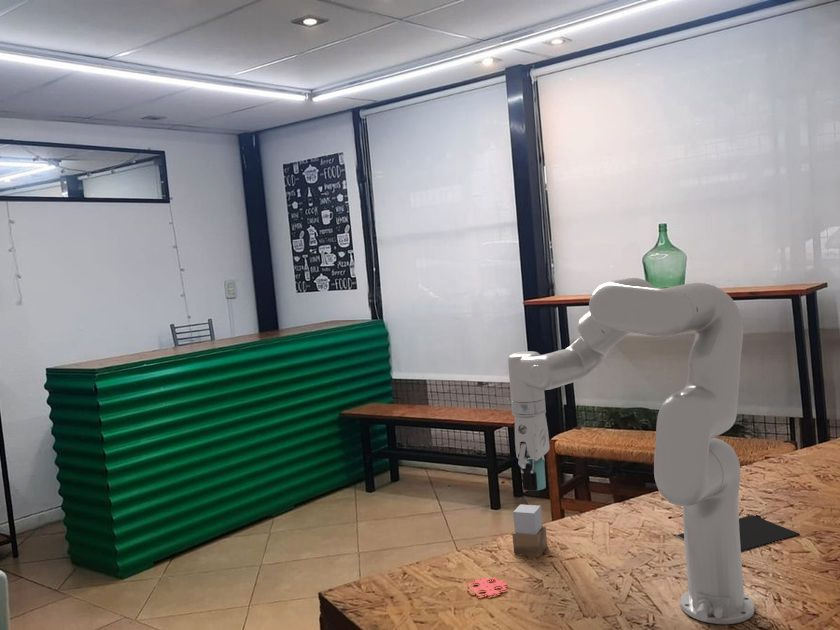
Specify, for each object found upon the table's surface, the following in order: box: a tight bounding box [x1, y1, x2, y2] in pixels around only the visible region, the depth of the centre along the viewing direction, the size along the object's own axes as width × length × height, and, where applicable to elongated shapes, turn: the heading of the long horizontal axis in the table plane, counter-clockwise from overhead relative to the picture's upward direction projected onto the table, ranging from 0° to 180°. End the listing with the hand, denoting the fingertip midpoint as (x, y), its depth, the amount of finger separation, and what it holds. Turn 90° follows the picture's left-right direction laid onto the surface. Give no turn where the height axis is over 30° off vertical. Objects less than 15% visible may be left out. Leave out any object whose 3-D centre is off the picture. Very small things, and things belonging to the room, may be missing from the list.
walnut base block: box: [511, 525, 548, 558], centre depth 167 cm, size 6×6×5 cm
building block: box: [467, 576, 508, 598], centre depth 150 cm, size 1×8×8 cm
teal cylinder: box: [526, 457, 547, 491], centre depth 163 cm, size 5×5×6 cm
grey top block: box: [512, 504, 544, 535], centre depth 166 cm, size 5×5×5 cm
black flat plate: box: [673, 513, 801, 553], centre depth 164 cm, size 23×1×15 cm
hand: (534, 484), depth 163 cm, fingers closed on teal cylinder, 4 cm apart
